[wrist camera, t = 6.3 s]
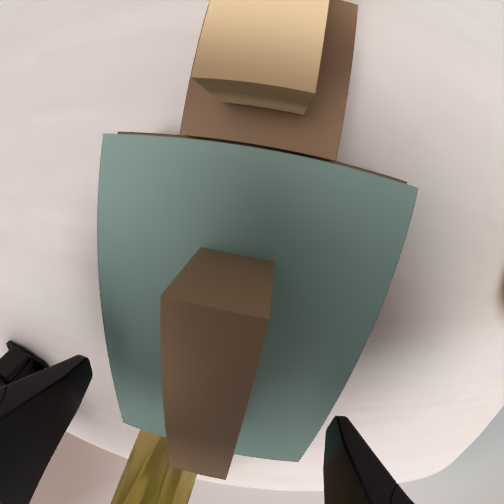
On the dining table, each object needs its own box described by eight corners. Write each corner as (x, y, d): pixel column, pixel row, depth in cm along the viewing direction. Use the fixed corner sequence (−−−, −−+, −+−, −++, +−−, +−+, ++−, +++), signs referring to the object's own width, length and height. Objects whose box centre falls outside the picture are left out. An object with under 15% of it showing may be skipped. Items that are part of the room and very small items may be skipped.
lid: (298, 440, 15) (297, 508, 10) (133, 403, 16) (102, 462, 11) (398, 182, 10) (480, 209, 5) (127, 134, 10) (34, 133, 5)
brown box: (298, 409, 18) (298, 460, 14) (147, 377, 18) (123, 420, 14) (394, 63, 10) (434, 35, 6) (177, 29, 11) (140, -8, 6)
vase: (148, 406, 19) (82, 548, 6) (217, 435, 20) (179, 583, 6) (138, 435, 21) (87, 548, 8) (196, 459, 22) (162, 577, 8)
